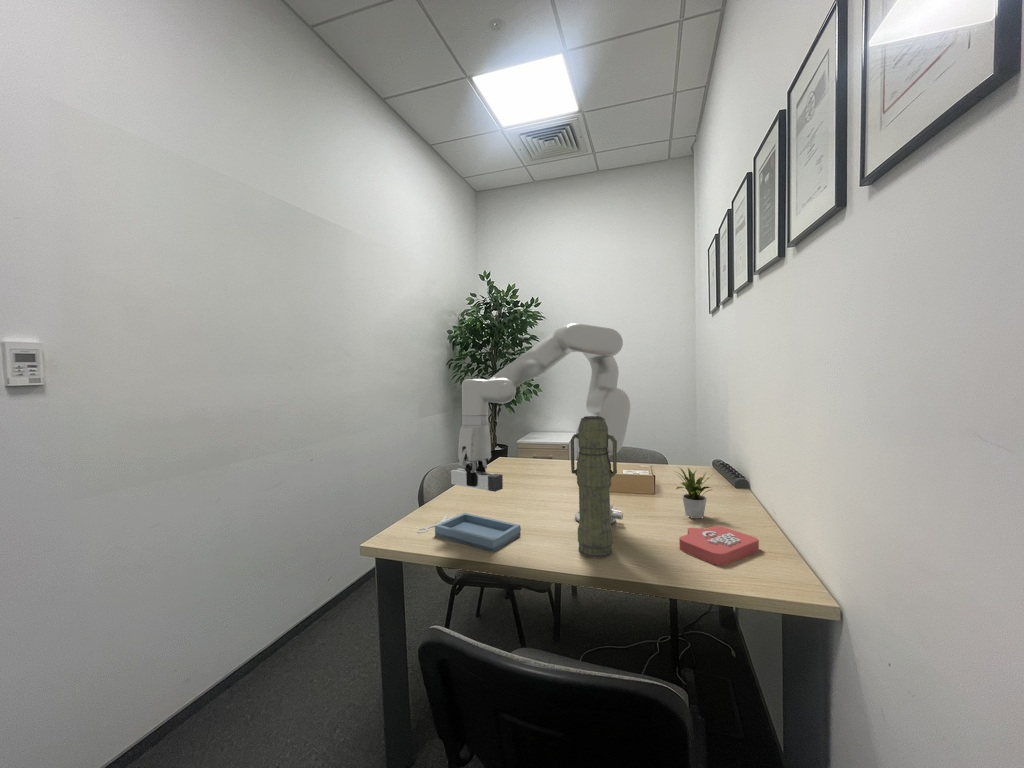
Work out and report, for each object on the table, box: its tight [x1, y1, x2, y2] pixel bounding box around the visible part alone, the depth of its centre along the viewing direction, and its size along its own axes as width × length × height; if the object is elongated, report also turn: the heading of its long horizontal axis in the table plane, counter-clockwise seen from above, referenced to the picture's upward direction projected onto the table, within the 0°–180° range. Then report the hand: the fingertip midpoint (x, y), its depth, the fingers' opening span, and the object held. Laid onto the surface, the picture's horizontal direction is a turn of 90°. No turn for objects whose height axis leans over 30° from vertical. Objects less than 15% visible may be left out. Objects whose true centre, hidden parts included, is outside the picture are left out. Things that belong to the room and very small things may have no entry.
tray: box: [434, 512, 522, 553], centre depth 114 cm, size 21×13×3 cm, turn 56°
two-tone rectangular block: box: [450, 467, 504, 493], centre depth 114 cm, size 16×4×4 cm, turn 56°
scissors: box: [416, 513, 460, 534], centre depth 124 cm, size 11×1×20 cm
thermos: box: [570, 415, 618, 559], centre depth 102 cm, size 9×12×35 cm
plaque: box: [679, 525, 760, 566], centre depth 103 cm, size 18×4×15 cm
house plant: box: [673, 465, 717, 519], centre depth 127 cm, size 14×14×16 cm
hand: (476, 483), depth 114 cm, fingers closed on two-tone rectangular block, 3 cm apart
